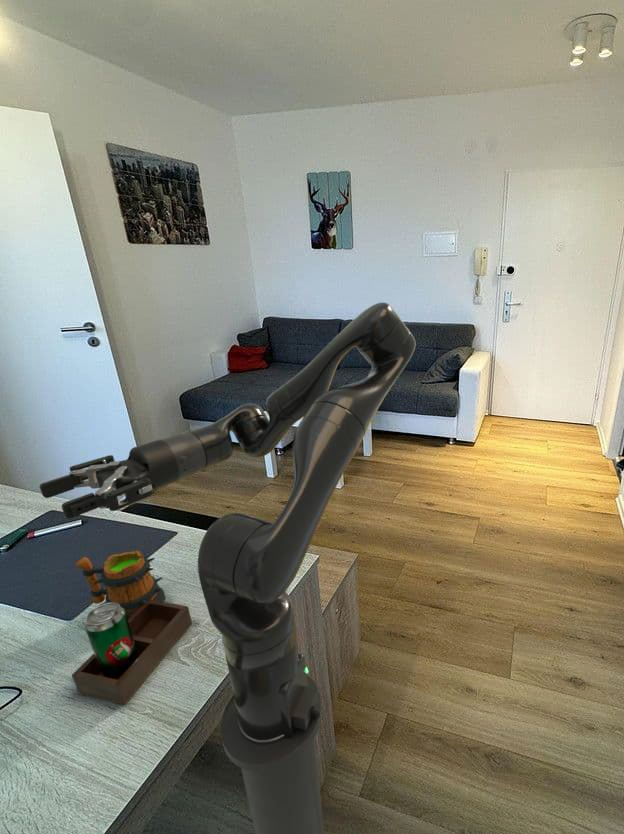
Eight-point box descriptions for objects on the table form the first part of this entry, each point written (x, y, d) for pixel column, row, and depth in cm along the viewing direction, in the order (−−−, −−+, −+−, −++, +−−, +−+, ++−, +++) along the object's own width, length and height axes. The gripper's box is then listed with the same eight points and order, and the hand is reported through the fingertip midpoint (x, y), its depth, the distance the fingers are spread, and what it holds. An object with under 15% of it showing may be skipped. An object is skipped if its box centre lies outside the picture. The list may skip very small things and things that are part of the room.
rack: (192, 623, 78) (188, 606, 76) (125, 704, 64) (118, 685, 62) (153, 616, 79) (148, 599, 78) (79, 694, 65) (71, 675, 64)
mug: (176, 585, 86) (164, 537, 81) (152, 627, 76) (137, 575, 72) (107, 588, 85) (92, 540, 80) (74, 631, 75) (55, 578, 71)
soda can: (109, 661, 70) (89, 604, 65) (144, 653, 71) (127, 597, 67) (99, 689, 65) (77, 630, 61) (136, 680, 67) (118, 622, 62)
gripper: (196, 493, 70) (79, 543, 57) (153, 467, 77) (42, 507, 65) (187, 451, 67) (63, 494, 55) (144, 429, 74) (26, 463, 62)
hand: (52, 501), depth 60 cm, fingers open, 8 cm apart
